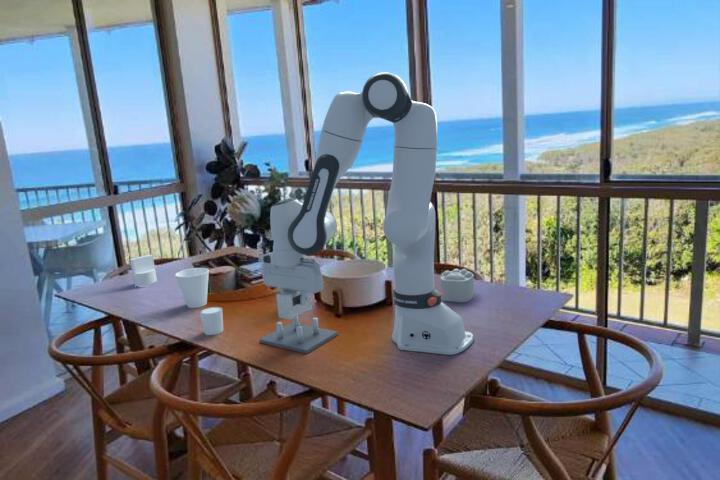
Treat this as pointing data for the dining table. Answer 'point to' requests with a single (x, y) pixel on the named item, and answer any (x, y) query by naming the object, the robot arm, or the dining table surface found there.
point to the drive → (292, 304)
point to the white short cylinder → (212, 320)
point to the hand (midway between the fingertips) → (295, 303)
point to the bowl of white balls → (457, 285)
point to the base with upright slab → (143, 270)
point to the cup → (194, 286)
